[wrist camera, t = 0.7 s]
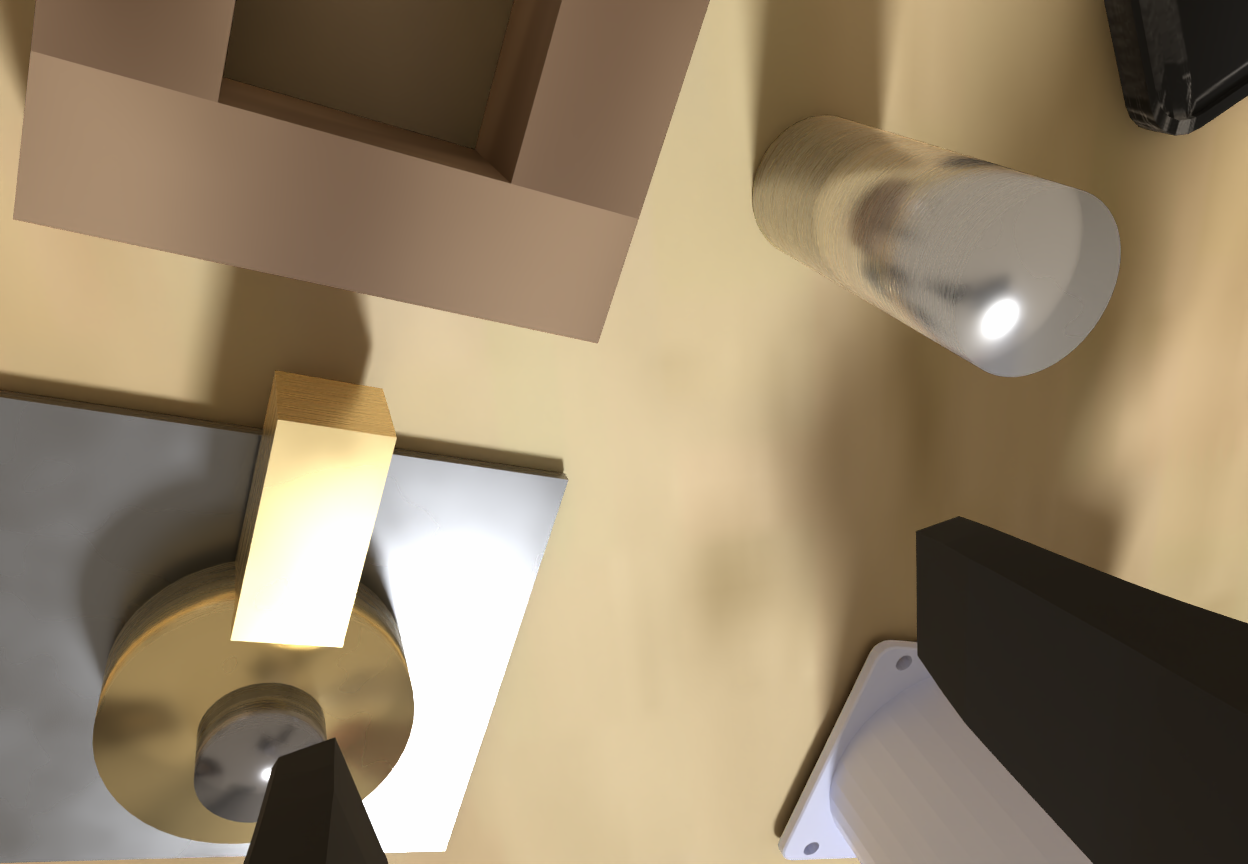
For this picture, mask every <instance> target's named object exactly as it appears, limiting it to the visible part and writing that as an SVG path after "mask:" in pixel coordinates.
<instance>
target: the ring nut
mask: <svg viewBox="0 0 1248 864" xmlns="http://www.w3.org/2000/svg"><path fill="white" fill-rule="evenodd" d="M396 439H397V437H396V433H395V430H394V426H393V423H392V419H391V416H390V413H389V409H388V406H387V402H386V399H385V395H384V392H383V389H381V388H375V387H369V386H363V385H358V384H352V383H346V382H340V381H335V380H329V379H323V378H317V377H311V376H306V375H300V374H294V373H288V372H283V371H277V370H275V374H274V378H273V383H272V388H271V393H270V398H269V402H268V407H267V412H266V417H265V422H264V426H263V431H262V436H261V441H260V445H259V450H258V455H257V460H256V465H255V469H254V474H253V479H252V484H251V489H250V493H249V498H248V503H247V508H246V512H245V517H244V522H243V527H242V532H241V536H240V541H239V546H238V551H237V556H236V560H235V561H229V562H225V563H221V564H218V565H214V566H210V567H207V568H204V569H202V570H199V571H197V572H194V573H192V574H189V575H187V576H185V577H183V578H181V579H179V580H177V581H175V582H174V583H172V584H170V585H168V586H167V587H165V588H164V589H162V590H161V591H159V592H158V593H156V594H155V595H154V596H152V597H151V598H150V599H149V600H148V601H146V602H145V603H144V604H143V605H142V606H141V607H140V608H139V609H138V610H137V611H136V612H135V613H134V614H133V615H132V616H131V618H130V619H129V620H128V621H127V622H126V623H125V625H124V627H123V628H122V630H121V631H120V633H119V634H118V636H117V637H116V639H115V642H114V644H113V646H112V648H111V651H110V653H109V656H108V660H107V664H106V668H105V673H104V678H103V683H102V688H101V693H100V698H99V702H98V707H97V712H96V717H95V722H94V728H93V742H92V744H93V753H94V760H95V763H96V766H97V769H98V772H99V775H100V777H101V779H102V781H103V783H104V784H105V786H106V788H107V790H108V791H109V792H110V793H111V795H112V796H113V797H114V798H115V800H116V801H117V802H118V803H119V804H120V805H121V806H122V807H123V808H125V809H126V810H127V811H128V812H129V813H130V814H132V815H133V816H135V817H136V818H138V819H139V820H141V821H142V822H144V823H146V824H148V825H150V826H152V827H154V828H156V829H158V830H160V831H163V832H165V833H168V834H171V835H174V836H177V837H181V838H185V839H190V840H194V841H200V842H208V843H216V844H243V843H250V842H251V839H252V836H253V832H254V829H255V826H256V823H257V819H258V816H259V813H260V809H261V805H262V802H263V798H264V795H265V791H266V788H267V784H268V780H269V776H270V772H271V768H272V767H273V765H274V764H275V762H276V761H277V759H278V757H280V756H283V755H286V754H289V753H292V752H295V751H297V750H300V749H303V748H306V747H309V746H311V745H314V744H317V743H320V742H323V741H326V740H328V739H331V738H334V737H335V738H336V740H337V743H338V745H339V747H340V750H341V752H342V754H343V757H344V759H345V761H346V764H347V766H348V768H349V771H350V773H351V775H352V778H353V780H354V783H355V785H356V787H357V790H358V792H359V794H360V797H361V799H362V801H363V800H364V799H365V798H366V797H367V796H368V795H370V794H371V793H372V792H373V791H374V790H375V789H376V788H377V787H378V786H379V785H380V784H381V783H382V782H383V781H384V780H385V779H386V778H387V777H388V775H389V774H390V773H391V771H392V770H393V769H394V767H395V766H396V765H397V763H398V761H399V760H400V758H401V756H402V754H403V752H404V751H405V749H406V746H407V743H408V741H409V738H410V736H411V732H412V727H413V722H414V711H415V703H414V695H413V688H412V684H411V679H410V674H409V670H408V665H407V660H406V656H405V651H404V646H403V642H402V638H401V635H400V631H399V628H398V626H397V624H396V622H395V620H394V618H393V616H392V614H391V612H390V611H389V610H388V608H387V607H386V606H385V604H384V603H383V602H382V601H381V600H380V599H379V598H378V596H377V595H376V594H375V593H374V592H373V591H371V590H370V589H369V588H367V587H366V586H365V585H363V584H362V583H361V582H360V577H361V573H362V569H363V565H364V561H365V558H366V554H367V550H368V546H369V542H370V538H371V535H372V531H373V527H374V523H375V519H376V515H377V512H378V508H379V504H380V500H381V496H382V492H383V489H384V485H385V481H386V477H387V473H388V469H389V466H390V462H391V458H392V454H393V450H394V446H395V443H396Z"/></svg>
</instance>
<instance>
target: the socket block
mask: <svg viewBox="0 0 1248 864" xmlns="http://www.w3.org/2000/svg"><path fill="white" fill-rule="evenodd" d="M709 1H710V0H514V2H513V6H512V10H511V14H510V18H509V21H508V25H507V29H506V33H505V37H504V41H503V44H502V48H501V52H500V56H499V60H498V63H497V67H496V71H495V75H494V79H493V82H492V86H491V90H490V94H489V98H488V102H487V105H486V109H485V113H484V117H483V121H482V124H481V128H480V132H479V136H478V140H477V144H476V147H475V149H471V148H468V147H464V146H461V145H457V144H454V143H450V142H447V141H443V140H440V139H436V138H433V137H429V136H426V135H422V134H419V133H416V132H412V131H409V130H405V129H402V128H398V127H395V126H391V125H388V124H384V123H381V122H377V121H374V120H370V119H367V118H363V117H360V116H356V115H353V114H349V113H346V112H343V111H339V110H336V109H332V108H329V107H325V106H322V105H318V104H315V103H311V102H308V101H304V100H301V99H297V98H294V97H290V96H287V95H283V94H280V93H277V92H273V91H270V90H266V89H263V88H259V87H256V86H252V85H249V84H245V83H242V82H238V81H235V80H231V79H228V78H224V77H223V74H224V68H225V63H226V57H227V51H228V45H229V39H230V33H231V27H232V22H233V16H234V10H235V4H236V0H36V5H35V14H34V24H33V33H32V43H31V53H30V62H29V72H28V81H27V91H26V100H25V110H24V119H23V129H22V138H21V148H20V158H19V167H18V177H17V186H16V196H15V205H14V215H13V219H14V220H19V221H24V222H29V223H33V224H38V225H43V226H47V227H52V228H57V229H62V230H66V231H71V232H76V233H80V234H85V235H90V236H94V237H99V238H104V239H109V240H113V241H118V242H123V243H127V244H132V245H137V246H142V247H146V248H151V249H156V250H160V251H165V252H170V253H175V254H179V255H184V256H189V257H193V258H198V259H203V260H208V261H212V262H217V263H222V264H226V265H231V266H236V267H240V268H245V269H250V270H255V271H259V272H264V273H269V274H273V275H278V276H283V277H288V278H292V279H297V280H302V281H306V282H311V283H316V284H321V285H325V286H330V287H335V288H339V289H344V290H349V291H354V292H358V293H363V294H368V295H372V296H377V297H382V298H386V299H391V300H396V301H401V302H405V303H410V304H415V305H419V306H424V307H429V308H434V309H438V310H443V311H448V312H452V313H457V314H462V315H467V316H471V317H476V318H481V319H485V320H490V321H495V322H499V323H504V324H509V325H514V326H518V327H523V328H528V329H532V330H537V331H542V332H547V333H551V334H556V335H561V336H565V337H570V338H575V339H580V340H584V341H589V342H594V343H598V341H599V338H600V335H601V332H602V329H603V326H604V323H605V320H606V317H607V314H608V311H609V308H610V305H611V302H612V298H613V295H614V292H615V289H616V286H617V283H618V280H619V277H620V274H621V271H622V268H623V265H624V262H625V259H626V256H627V253H628V249H629V246H630V243H631V240H632V237H633V234H634V231H635V228H636V225H637V222H638V219H639V216H640V213H641V210H642V207H643V204H644V200H645V197H646V194H647V191H648V188H649V185H650V182H651V179H652V176H653V173H654V170H655V167H656V164H657V161H658V158H659V154H660V151H661V148H662V145H663V142H664V139H665V136H666V133H667V130H668V127H669V124H670V121H671V118H672V115H673V112H674V109H675V105H676V102H677V99H678V96H679V93H680V90H681V87H682V84H683V81H684V78H685V75H686V72H687V69H688V66H689V63H690V60H691V56H692V53H693V50H694V47H695V44H696V41H697V38H698V35H699V32H700V29H701V26H702V23H703V20H704V17H705V14H706V11H707V7H708V4H709Z"/></svg>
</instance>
